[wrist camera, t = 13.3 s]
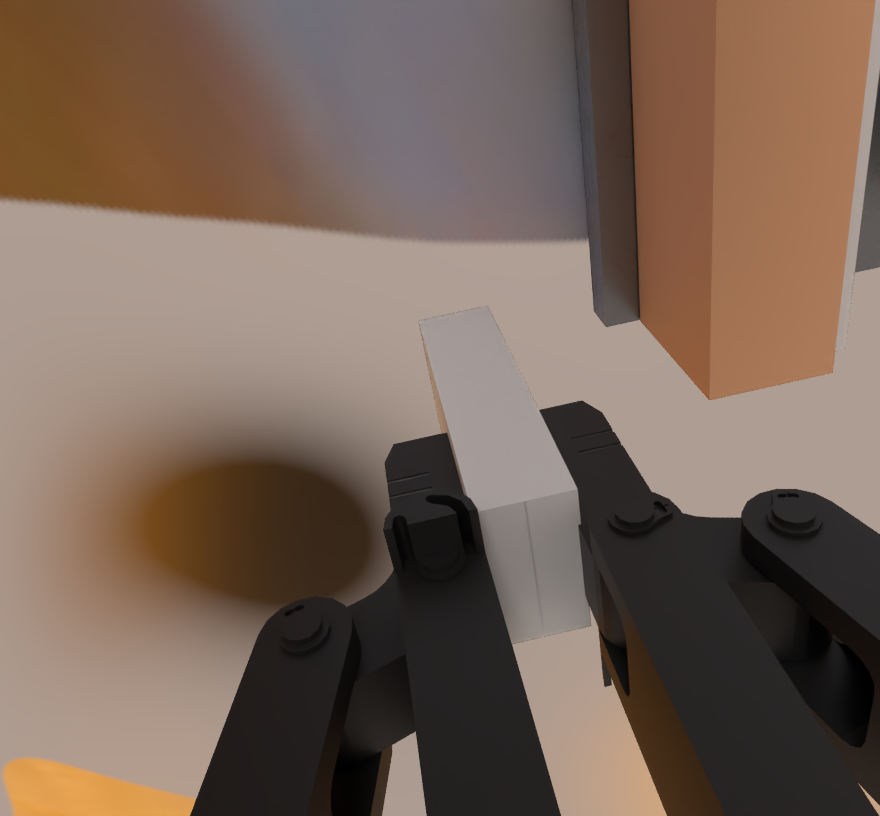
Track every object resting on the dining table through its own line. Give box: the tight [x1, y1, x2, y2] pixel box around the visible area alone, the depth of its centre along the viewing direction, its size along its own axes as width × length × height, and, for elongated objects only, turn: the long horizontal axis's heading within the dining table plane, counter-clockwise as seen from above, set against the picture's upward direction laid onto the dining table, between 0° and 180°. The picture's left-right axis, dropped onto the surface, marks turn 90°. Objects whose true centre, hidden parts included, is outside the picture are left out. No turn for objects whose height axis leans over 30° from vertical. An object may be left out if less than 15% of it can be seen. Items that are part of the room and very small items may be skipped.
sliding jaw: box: [629, 0, 880, 400], centre depth 24 cm, size 5×12×6 cm, turn 10°
